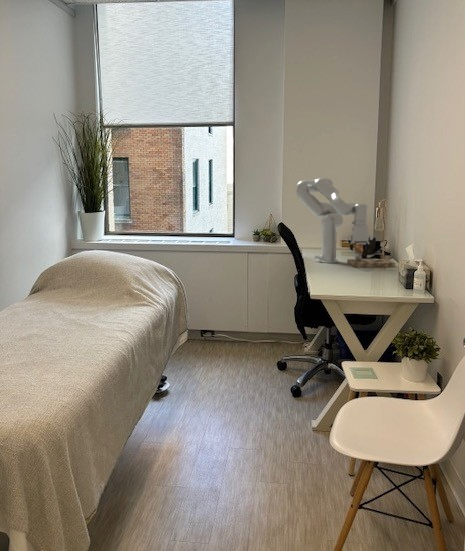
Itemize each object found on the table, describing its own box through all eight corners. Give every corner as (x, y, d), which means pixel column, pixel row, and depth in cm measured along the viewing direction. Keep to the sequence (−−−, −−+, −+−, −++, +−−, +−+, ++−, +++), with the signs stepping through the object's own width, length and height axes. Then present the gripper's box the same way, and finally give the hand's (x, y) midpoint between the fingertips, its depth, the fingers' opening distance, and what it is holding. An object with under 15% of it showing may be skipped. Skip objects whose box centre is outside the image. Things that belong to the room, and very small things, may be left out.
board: (354, 267, 336) (354, 263, 335) (347, 263, 351) (347, 259, 351) (394, 266, 337) (395, 262, 337) (386, 262, 353) (386, 258, 352)
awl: (355, 261, 341) (356, 244, 339) (353, 260, 345) (354, 243, 343) (363, 261, 341) (363, 244, 339) (360, 260, 346) (361, 243, 344)
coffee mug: (353, 257, 374) (353, 243, 372) (361, 256, 379) (361, 242, 377) (366, 259, 365) (367, 245, 363) (374, 258, 370) (375, 244, 368)
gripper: (348, 224, 335) (347, 251, 338) (375, 223, 336) (374, 250, 339) (345, 223, 342) (344, 249, 345) (371, 222, 343) (370, 249, 346)
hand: (359, 250), depth 342 cm, fingers open, 9 cm apart
